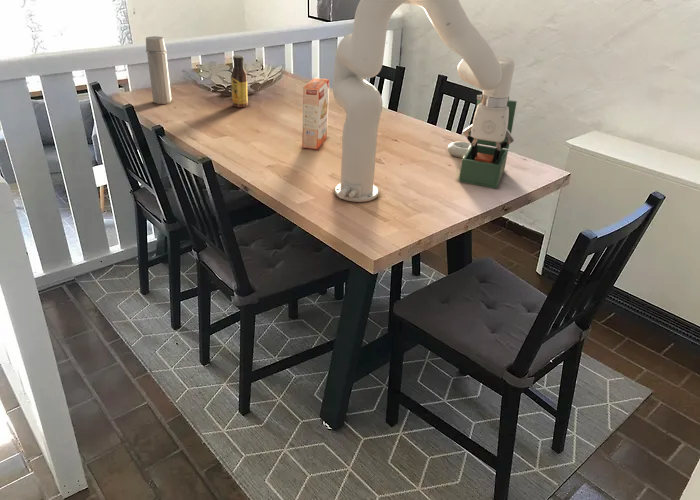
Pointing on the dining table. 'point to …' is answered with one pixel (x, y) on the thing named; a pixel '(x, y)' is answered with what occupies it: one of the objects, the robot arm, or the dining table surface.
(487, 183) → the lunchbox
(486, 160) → the block
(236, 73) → the sauce bottle
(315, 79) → the cracker box
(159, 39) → the water bottle
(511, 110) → the lid
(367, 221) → the dining table surface
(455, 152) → the donut
